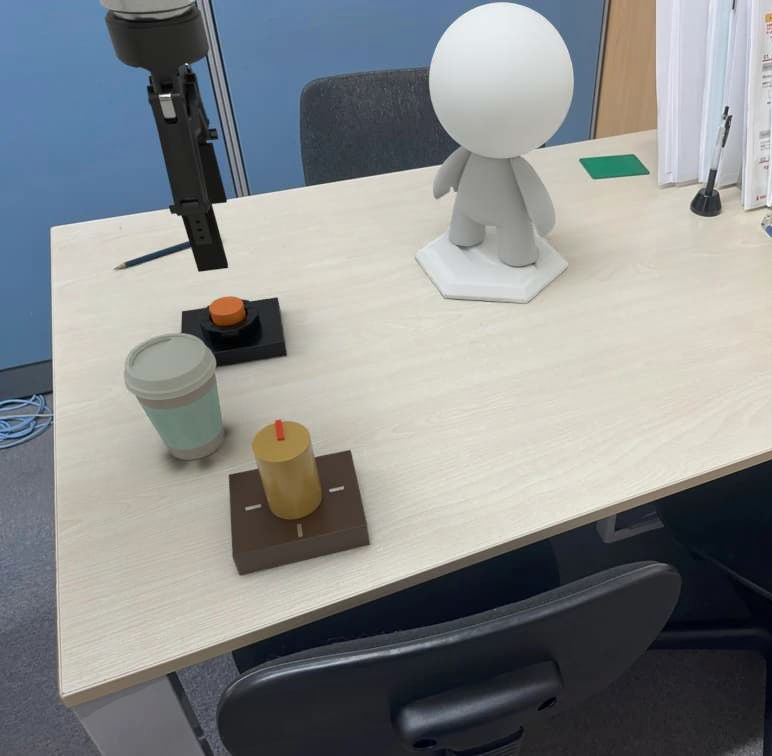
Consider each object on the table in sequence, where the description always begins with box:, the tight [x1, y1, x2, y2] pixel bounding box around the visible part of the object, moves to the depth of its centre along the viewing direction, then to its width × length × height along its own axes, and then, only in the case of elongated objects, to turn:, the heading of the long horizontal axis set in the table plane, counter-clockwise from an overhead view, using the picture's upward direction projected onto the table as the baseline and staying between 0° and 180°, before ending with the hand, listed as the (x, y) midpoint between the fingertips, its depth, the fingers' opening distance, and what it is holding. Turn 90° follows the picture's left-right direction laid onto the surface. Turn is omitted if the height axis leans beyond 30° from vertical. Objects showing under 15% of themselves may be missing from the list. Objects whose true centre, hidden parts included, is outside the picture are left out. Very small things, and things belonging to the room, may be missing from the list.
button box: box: [180, 297, 288, 368], centre depth 89 cm, size 12×10×4 cm
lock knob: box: [251, 418, 322, 519], centre depth 65 cm, size 5×5×8 cm
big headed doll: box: [414, 1, 575, 304], centre depth 95 cm, size 20×23×35 cm
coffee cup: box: [123, 332, 225, 461], centre depth 73 cm, size 8×9×12 cm
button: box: [208, 295, 246, 326], centre depth 88 cm, size 4×4×2 cm
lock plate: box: [228, 449, 371, 576], centre depth 69 cm, size 12×10×3 cm
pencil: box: [113, 240, 191, 270], centre depth 105 cm, size 1×1×15 cm
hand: (213, 233), depth 73 cm, fingers open, 13 cm apart
